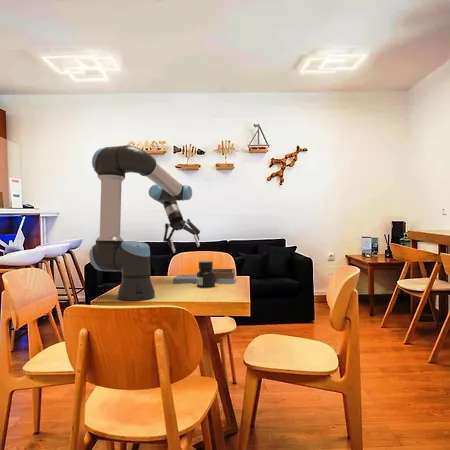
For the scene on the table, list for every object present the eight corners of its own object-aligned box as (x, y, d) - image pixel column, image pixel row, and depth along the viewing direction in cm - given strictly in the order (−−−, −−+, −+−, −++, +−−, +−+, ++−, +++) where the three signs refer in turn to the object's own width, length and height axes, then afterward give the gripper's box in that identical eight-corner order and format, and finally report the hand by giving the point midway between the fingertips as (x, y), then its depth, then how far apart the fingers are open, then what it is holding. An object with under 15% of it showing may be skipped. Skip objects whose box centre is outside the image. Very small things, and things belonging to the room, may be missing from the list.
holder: (233, 278, 194) (233, 272, 194) (206, 278, 195) (206, 272, 195) (235, 274, 210) (234, 268, 210) (209, 274, 211) (209, 268, 211)
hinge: (233, 283, 193) (233, 278, 193) (172, 284, 195) (172, 278, 195) (235, 278, 211) (235, 273, 211) (179, 278, 213) (179, 273, 213)
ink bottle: (196, 284, 192) (196, 260, 192) (214, 284, 192) (214, 260, 192) (196, 288, 182) (196, 262, 182) (215, 287, 183) (215, 262, 182)
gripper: (194, 213, 216) (207, 246, 208) (151, 222, 206) (162, 257, 198) (196, 206, 210) (210, 240, 202) (152, 215, 200) (164, 251, 192)
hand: (186, 248), depth 200 cm, fingers open, 13 cm apart
